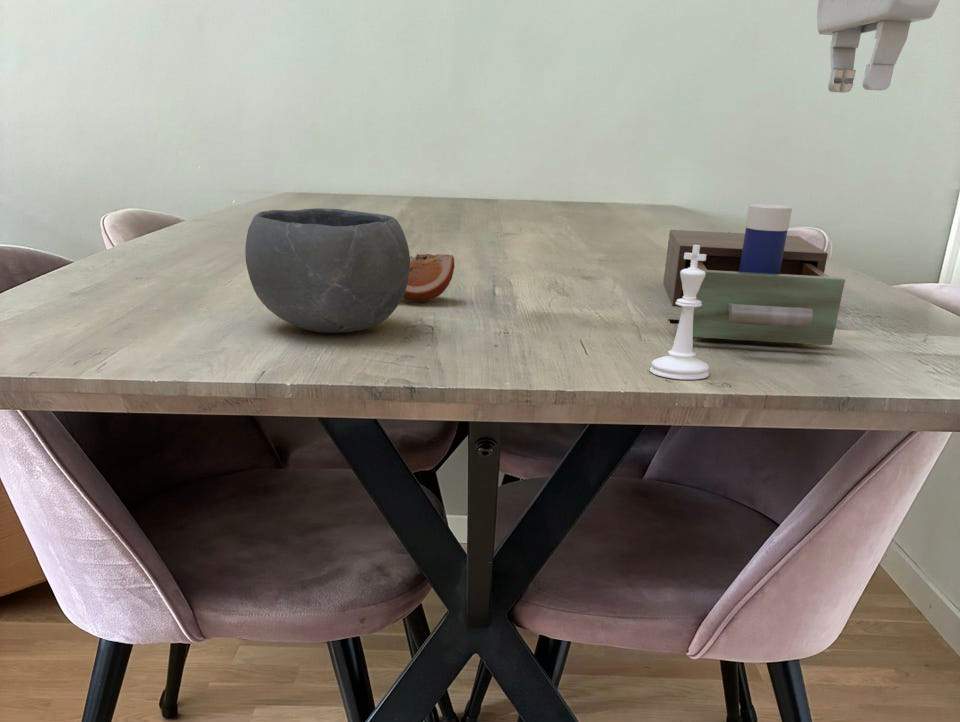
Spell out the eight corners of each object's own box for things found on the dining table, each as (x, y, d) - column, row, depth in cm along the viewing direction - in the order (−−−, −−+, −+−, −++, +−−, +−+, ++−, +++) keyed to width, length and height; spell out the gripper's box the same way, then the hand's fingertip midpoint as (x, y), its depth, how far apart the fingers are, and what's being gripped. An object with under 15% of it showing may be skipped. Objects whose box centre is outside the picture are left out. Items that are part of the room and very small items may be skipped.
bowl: (440, 327, 93) (442, 216, 88) (346, 354, 82) (342, 227, 77) (320, 309, 99) (316, 204, 94) (218, 331, 88) (207, 212, 83)
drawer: (842, 355, 84) (857, 286, 82) (689, 346, 85) (699, 278, 83) (802, 316, 101) (813, 258, 98) (674, 309, 102) (682, 251, 99)
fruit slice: (372, 303, 103) (371, 254, 101) (384, 293, 109) (384, 246, 107) (448, 308, 102) (449, 258, 100) (457, 297, 108) (458, 250, 106)
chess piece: (662, 363, 83) (678, 239, 78) (716, 371, 81) (736, 245, 76) (640, 373, 79) (655, 244, 75) (697, 383, 77) (716, 251, 72)
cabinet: (812, 332, 98) (828, 253, 95) (670, 323, 99) (680, 245, 96) (786, 305, 112) (799, 236, 108) (661, 298, 113) (669, 229, 109)
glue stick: (768, 315, 95) (788, 205, 90) (775, 322, 91) (795, 208, 86) (729, 312, 95) (746, 203, 90) (733, 320, 92) (752, 206, 87)
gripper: (996, -138, 66) (941, 90, 73) (891, -85, 84) (854, 95, 91) (906, -143, 66) (859, 86, 73) (820, -88, 84) (788, 91, 91)
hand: (856, 91), depth 82 cm, fingers open, 8 cm apart
